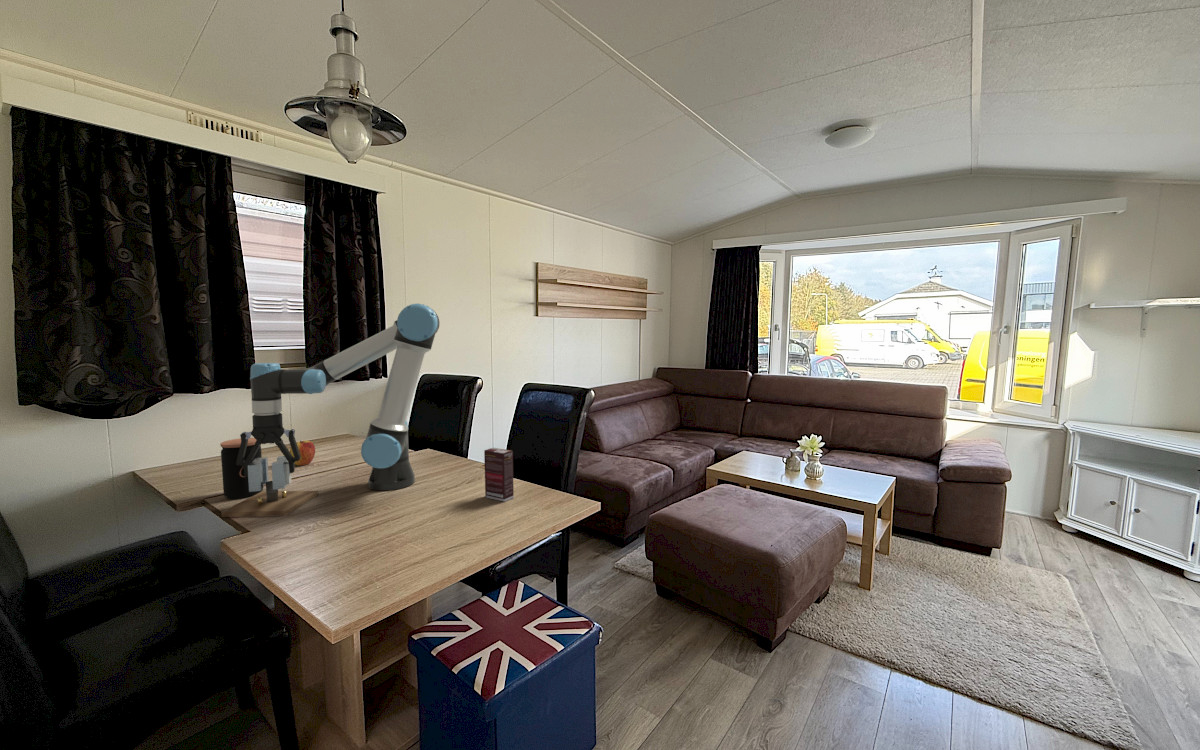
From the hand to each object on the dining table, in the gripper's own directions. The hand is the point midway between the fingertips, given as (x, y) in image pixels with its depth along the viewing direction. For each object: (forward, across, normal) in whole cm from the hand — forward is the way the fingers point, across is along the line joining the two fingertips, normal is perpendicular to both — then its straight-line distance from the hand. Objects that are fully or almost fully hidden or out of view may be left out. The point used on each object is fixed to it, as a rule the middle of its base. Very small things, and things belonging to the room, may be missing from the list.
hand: (270, 484), depth 148 cm
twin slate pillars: (0, 0, 0) cm, 0 cm away
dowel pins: (+5, 0, 0) cm, 5 cm away
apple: (+7, 0, -50) cm, 50 cm away
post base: (+7, 0, 0) cm, 7 cm away
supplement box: (+6, -67, +20) cm, 70 cm away
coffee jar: (+7, +11, -16) cm, 20 cm away
